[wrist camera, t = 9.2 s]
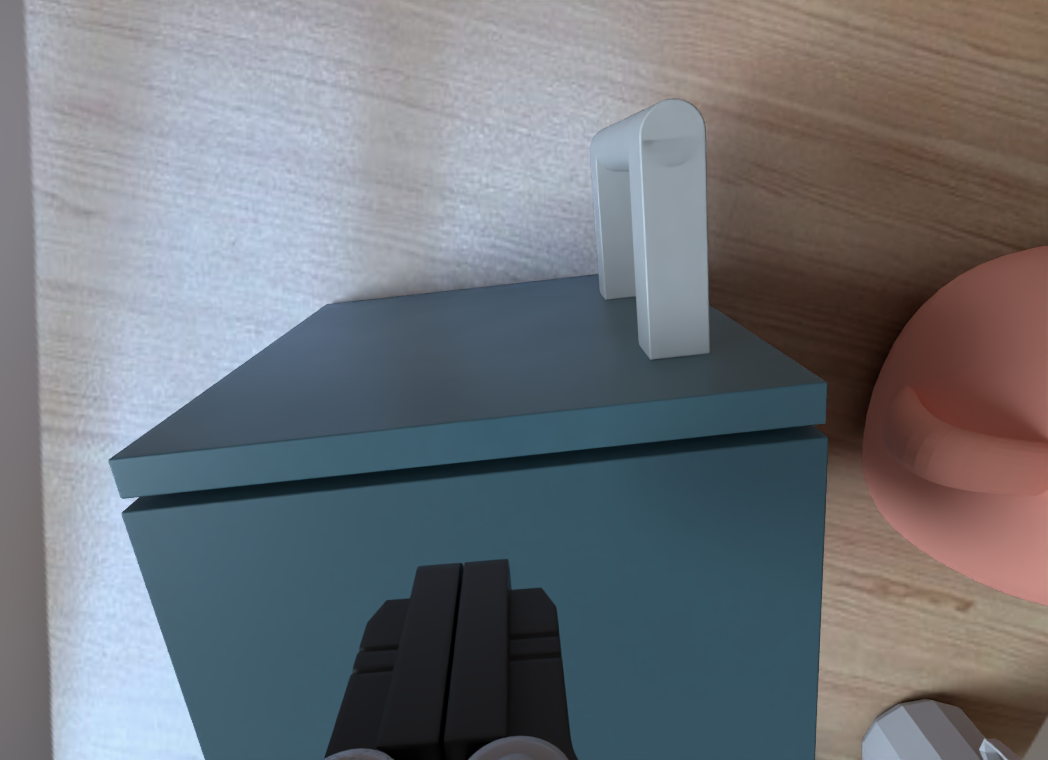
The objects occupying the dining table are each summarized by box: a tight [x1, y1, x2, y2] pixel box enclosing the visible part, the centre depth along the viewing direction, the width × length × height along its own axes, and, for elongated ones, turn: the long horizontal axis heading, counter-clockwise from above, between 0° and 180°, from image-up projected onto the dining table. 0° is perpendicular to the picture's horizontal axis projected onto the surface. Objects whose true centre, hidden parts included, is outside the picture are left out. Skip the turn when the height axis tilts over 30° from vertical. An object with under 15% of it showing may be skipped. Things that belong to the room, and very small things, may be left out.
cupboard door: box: [109, 98, 828, 499], centre depth 22 cm, size 7×16×18 cm, turn 96°
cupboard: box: [122, 425, 828, 760], centre depth 25 cm, size 12×16×18 cm
